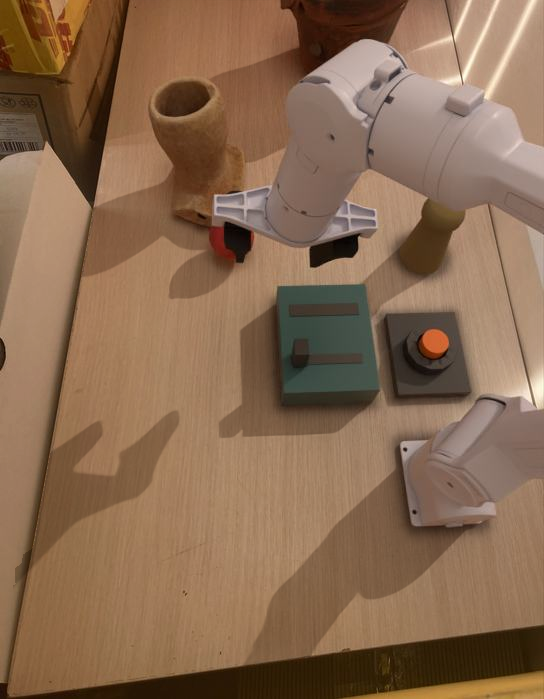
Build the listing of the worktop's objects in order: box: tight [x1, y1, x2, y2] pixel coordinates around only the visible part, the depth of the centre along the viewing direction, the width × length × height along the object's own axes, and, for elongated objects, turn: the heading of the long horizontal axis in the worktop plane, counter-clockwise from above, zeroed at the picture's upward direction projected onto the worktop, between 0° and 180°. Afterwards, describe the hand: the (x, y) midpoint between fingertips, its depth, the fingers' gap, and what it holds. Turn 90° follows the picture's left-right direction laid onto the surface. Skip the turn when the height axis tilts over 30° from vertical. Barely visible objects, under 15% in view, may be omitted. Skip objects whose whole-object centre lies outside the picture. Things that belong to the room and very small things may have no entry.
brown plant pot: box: [279, 0, 409, 74], centre depth 81 cm, size 18×20×18 cm
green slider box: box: [275, 283, 381, 407], centre depth 66 cm, size 14×11×5 cm
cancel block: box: [383, 311, 472, 399], centre depth 67 cm, size 11×9×3 cm
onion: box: [208, 226, 255, 261], centre depth 70 cm, size 6×6×8 cm
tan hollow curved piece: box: [147, 75, 246, 228], centre depth 71 cm, size 15×12×15 cm
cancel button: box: [418, 329, 449, 359], centre depth 65 cm, size 3×3×2 cm
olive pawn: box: [399, 198, 467, 275], centre depth 69 cm, size 6×6×11 cm
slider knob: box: [292, 338, 310, 367], centre depth 60 cm, size 2×2×4 cm
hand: (276, 256), depth 55 cm, fingers open, 7 cm apart
